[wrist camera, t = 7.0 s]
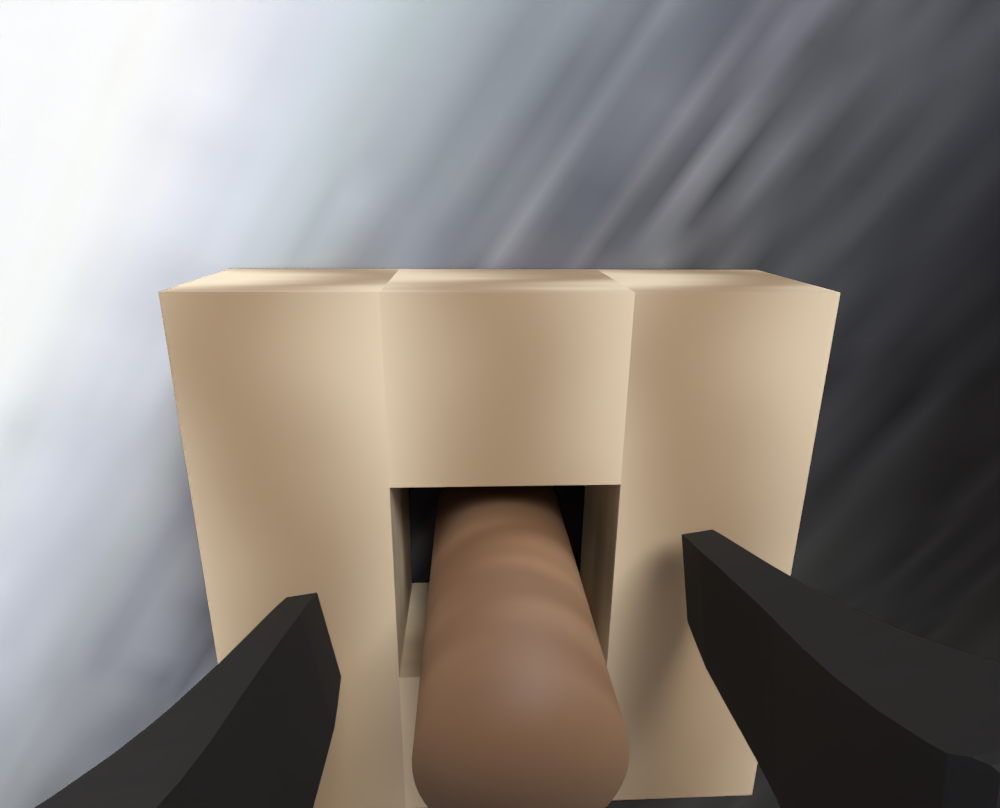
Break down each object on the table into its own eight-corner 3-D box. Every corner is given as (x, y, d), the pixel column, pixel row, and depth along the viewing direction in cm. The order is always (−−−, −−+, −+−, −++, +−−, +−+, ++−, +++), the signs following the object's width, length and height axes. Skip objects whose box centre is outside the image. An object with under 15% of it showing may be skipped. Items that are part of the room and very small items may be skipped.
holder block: (756, 270, 15) (840, 292, 12) (701, 687, 19) (751, 794, 15) (230, 268, 14) (158, 291, 11) (283, 699, 18) (242, 814, 15)
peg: (543, 436, 16) (614, 652, 8) (563, 540, 17) (642, 821, 9) (425, 460, 16) (387, 696, 8) (451, 563, 17) (438, 860, 9)
